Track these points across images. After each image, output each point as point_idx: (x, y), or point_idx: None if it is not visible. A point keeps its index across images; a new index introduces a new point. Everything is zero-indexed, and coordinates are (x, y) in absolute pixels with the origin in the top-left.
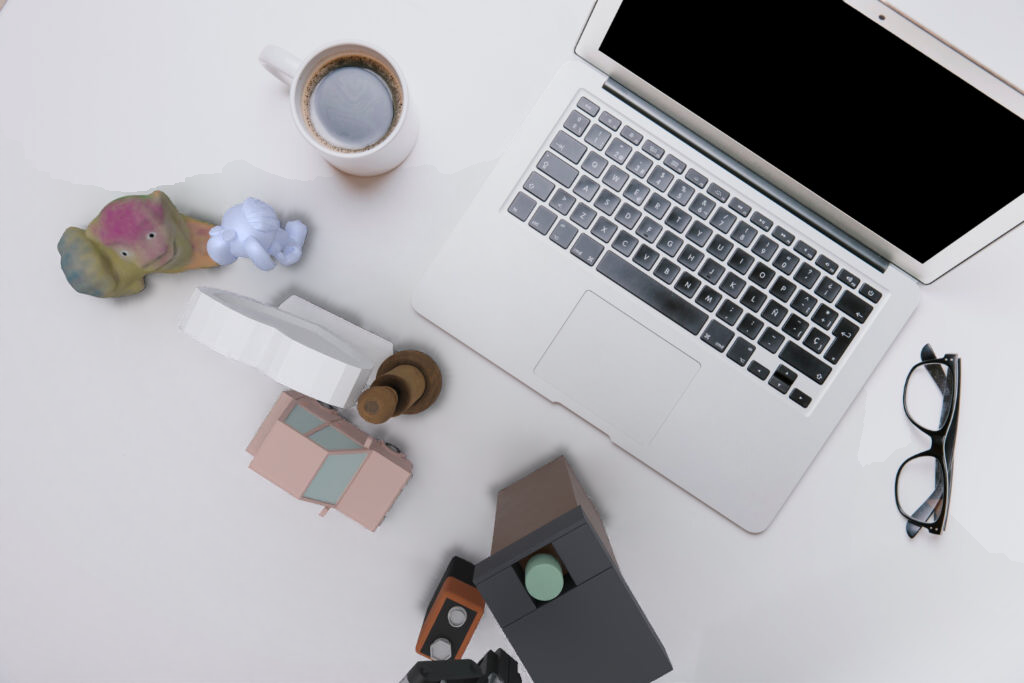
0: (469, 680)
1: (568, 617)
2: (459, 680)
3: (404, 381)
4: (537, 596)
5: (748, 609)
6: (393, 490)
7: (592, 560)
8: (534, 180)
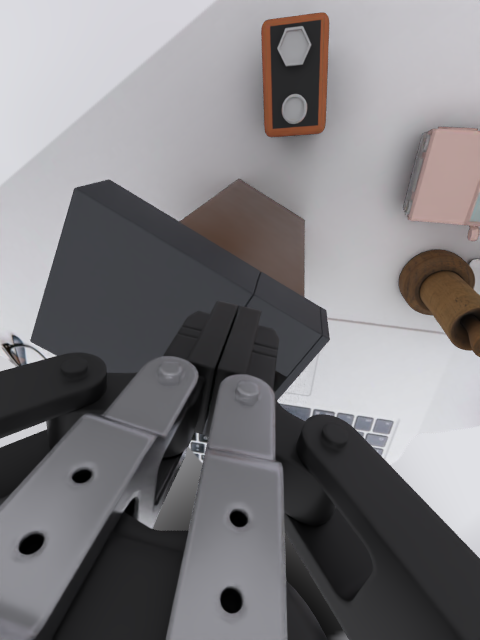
0: (304, 550)
1: None
2: (341, 615)
3: (462, 347)
4: None
5: (53, 232)
6: (424, 192)
7: None
8: (380, 442)
